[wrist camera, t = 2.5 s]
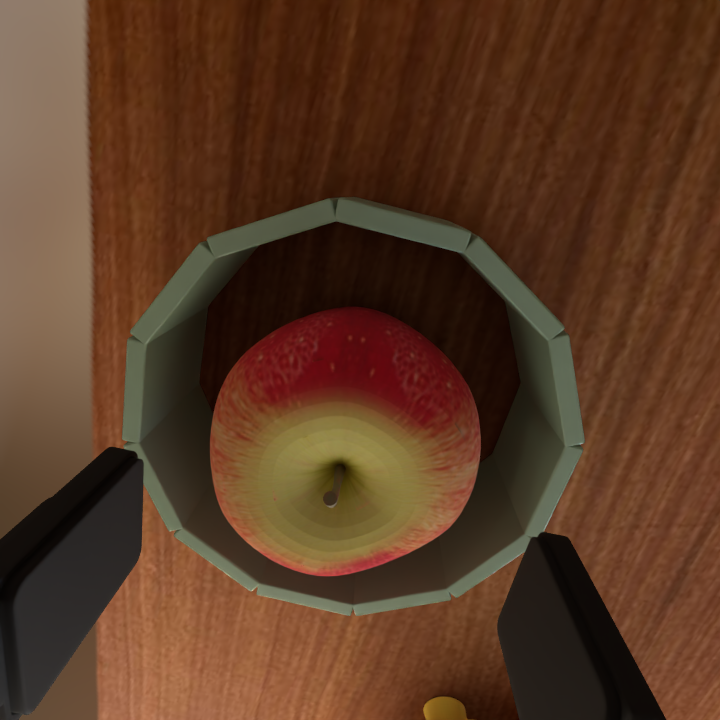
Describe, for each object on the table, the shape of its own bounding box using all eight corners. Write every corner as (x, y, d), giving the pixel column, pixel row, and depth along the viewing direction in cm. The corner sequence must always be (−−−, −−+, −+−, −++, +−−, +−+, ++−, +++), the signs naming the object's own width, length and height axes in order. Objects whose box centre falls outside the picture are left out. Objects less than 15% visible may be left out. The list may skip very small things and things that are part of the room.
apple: (474, 295, 17) (576, 415, 8) (436, 479, 20) (478, 726, 11) (262, 268, 17) (115, 357, 8) (256, 456, 20) (143, 679, 11)
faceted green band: (131, 265, 18) (39, 291, 13) (494, 149, 15) (539, 130, 11) (260, 544, 22) (225, 638, 17) (554, 485, 20) (605, 575, 15)
